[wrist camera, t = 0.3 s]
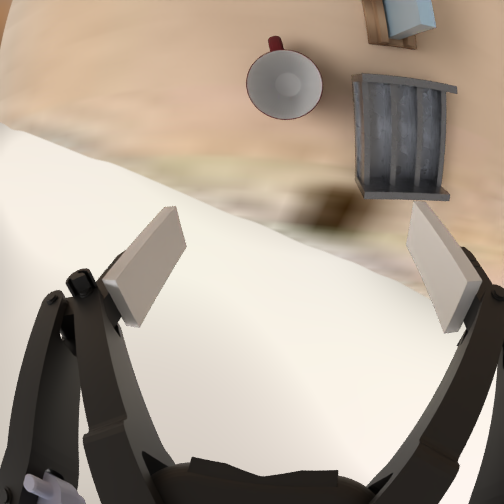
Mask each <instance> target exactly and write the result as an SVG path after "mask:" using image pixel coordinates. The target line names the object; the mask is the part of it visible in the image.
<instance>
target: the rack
mask: <svg viewBox="0 0 504 504" xmlns="http://www.w3.org/2000/svg"><path fill="white" fill-rule="evenodd" d="M351 76H352V87H353V102H354V121H355V181H356V183H357V185H358V187H359V189H360V191H361V193H362V195H363V197H364V199H402V200H433V201H449V199H450V194H449V193H448V192H447V191H446V190H445V189H444V188H443V187H442V186H441V183H442V174H443V165H444V154H445V138H446V92H449V93H455V94H457V86H452V85H448V84H443V83H438V82H432V81H427V80H420V79H414V78H406V77H398V76H389V75H378V74H363V73H362V74H355V75H351Z"/></svg>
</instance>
